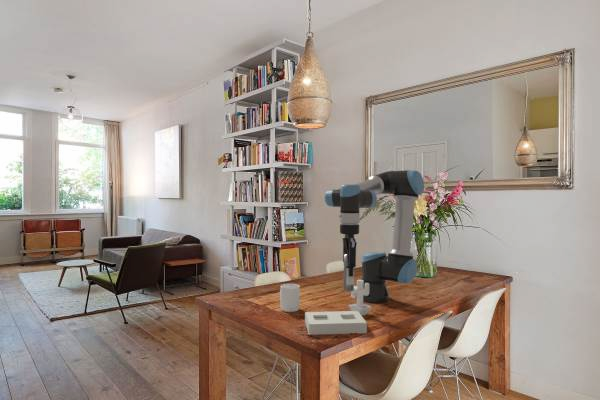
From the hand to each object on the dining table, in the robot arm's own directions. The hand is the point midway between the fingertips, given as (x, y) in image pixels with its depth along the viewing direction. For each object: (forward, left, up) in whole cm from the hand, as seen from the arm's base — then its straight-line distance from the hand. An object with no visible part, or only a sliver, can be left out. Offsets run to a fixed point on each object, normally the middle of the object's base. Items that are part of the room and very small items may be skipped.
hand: (348, 282), depth 148 cm
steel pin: (0, 0, -3) cm, 3 cm away
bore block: (+5, 0, -18) cm, 18 cm away
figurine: (-9, -15, -18) cm, 25 cm away
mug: (+22, -25, -18) cm, 38 cm away
